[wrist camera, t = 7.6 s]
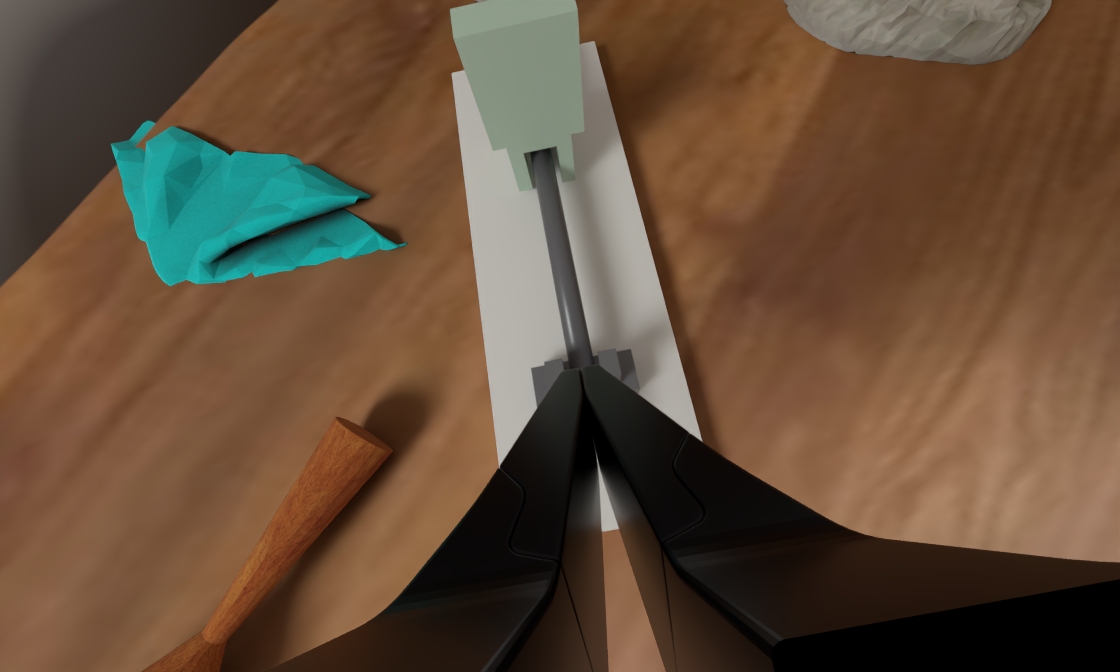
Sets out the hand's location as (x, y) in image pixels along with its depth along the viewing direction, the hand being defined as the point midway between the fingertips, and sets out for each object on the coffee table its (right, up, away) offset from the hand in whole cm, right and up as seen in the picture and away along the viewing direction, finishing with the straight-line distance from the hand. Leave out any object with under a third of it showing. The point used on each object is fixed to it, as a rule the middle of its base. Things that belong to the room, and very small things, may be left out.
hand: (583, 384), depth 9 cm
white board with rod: (0, +6, +16) cm, 17 cm away
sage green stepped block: (-2, +12, +16) cm, 20 cm away
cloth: (-23, +10, +20) cm, 32 cm away
